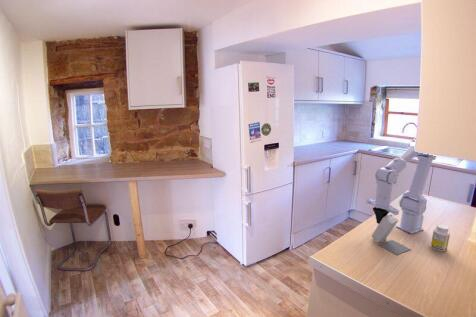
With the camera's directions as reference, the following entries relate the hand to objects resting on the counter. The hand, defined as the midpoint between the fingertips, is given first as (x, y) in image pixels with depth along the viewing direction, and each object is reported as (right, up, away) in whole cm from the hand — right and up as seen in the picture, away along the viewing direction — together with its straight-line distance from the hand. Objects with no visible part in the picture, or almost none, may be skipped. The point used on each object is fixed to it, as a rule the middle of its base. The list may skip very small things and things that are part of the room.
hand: (379, 223), depth 120 cm
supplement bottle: (+22, -10, -5) cm, 25 cm away
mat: (+4, -9, -5) cm, 11 cm away
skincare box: (0, -7, +2) cm, 7 cm away
